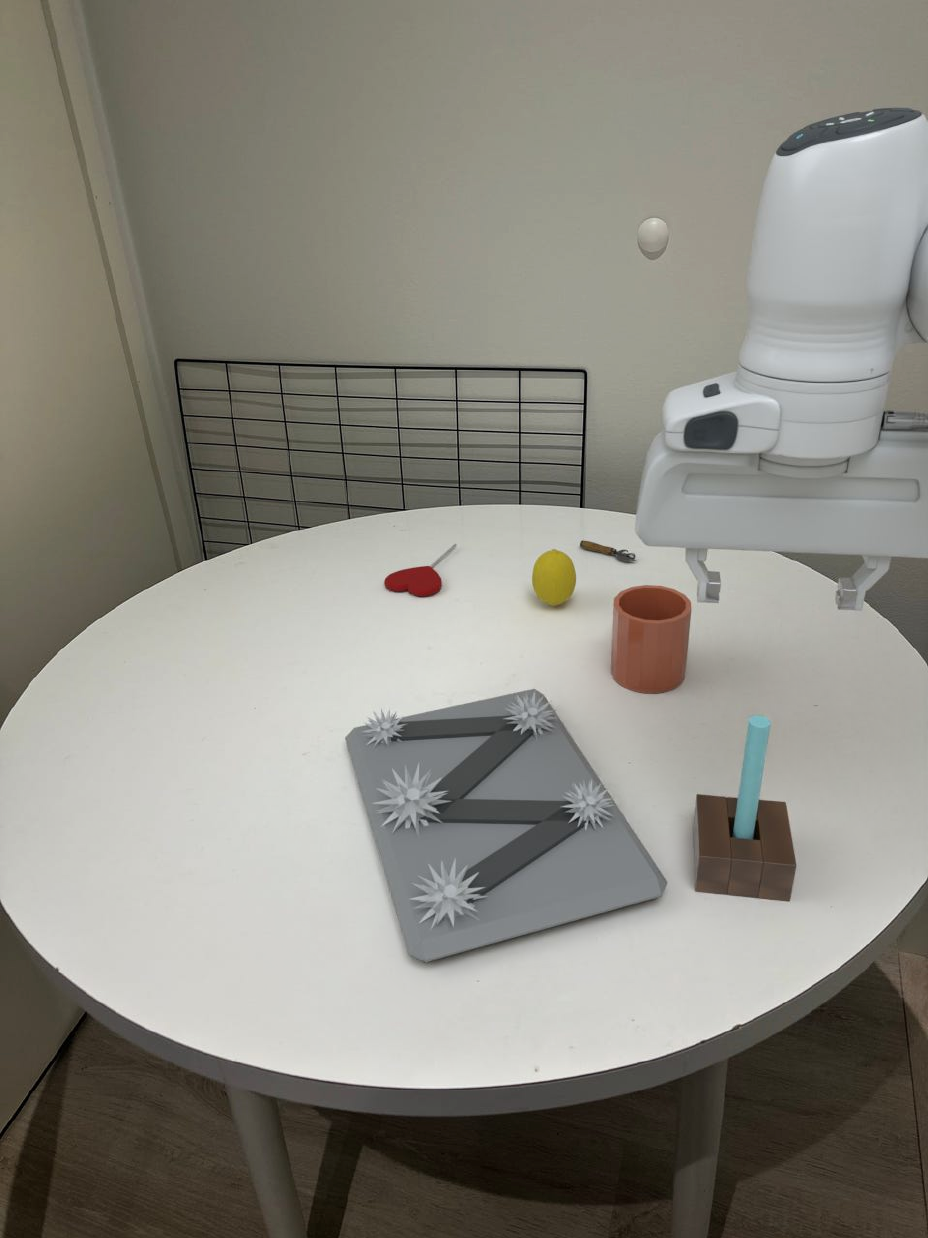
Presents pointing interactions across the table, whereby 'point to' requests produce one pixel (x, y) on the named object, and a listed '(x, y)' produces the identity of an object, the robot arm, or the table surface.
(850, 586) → the robot arm
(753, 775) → the straw
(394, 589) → the lollipop
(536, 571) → the lemon
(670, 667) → the cup
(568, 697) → the table surface
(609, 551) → the can opener
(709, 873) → the holder
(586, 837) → the decorative plate
